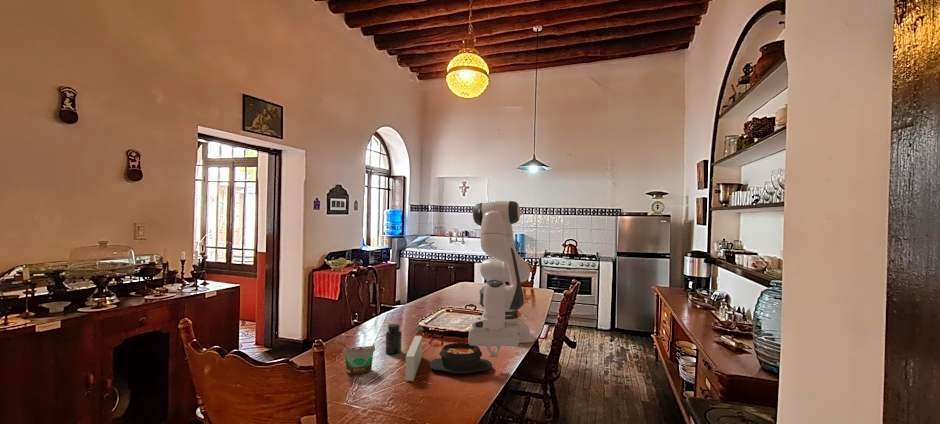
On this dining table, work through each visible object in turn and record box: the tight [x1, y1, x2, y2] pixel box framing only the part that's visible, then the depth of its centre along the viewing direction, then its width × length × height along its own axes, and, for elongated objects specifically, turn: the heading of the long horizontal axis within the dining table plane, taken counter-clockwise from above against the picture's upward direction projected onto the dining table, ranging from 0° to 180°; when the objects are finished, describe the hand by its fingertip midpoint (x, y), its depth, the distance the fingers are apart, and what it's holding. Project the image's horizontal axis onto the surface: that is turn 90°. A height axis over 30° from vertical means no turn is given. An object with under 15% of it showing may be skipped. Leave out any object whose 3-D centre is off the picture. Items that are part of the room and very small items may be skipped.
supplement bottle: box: [385, 323, 403, 356], centre depth 193 cm, size 7×7×12 cm
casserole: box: [428, 342, 493, 375], centre depth 174 cm, size 25×19×8 cm
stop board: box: [404, 335, 423, 382], centre depth 175 cm, size 3×26×9 cm, turn 0°
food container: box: [342, 343, 376, 377], centre depth 168 cm, size 12×6×10 cm, turn 117°
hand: (493, 356), depth 174 cm, fingers closed
